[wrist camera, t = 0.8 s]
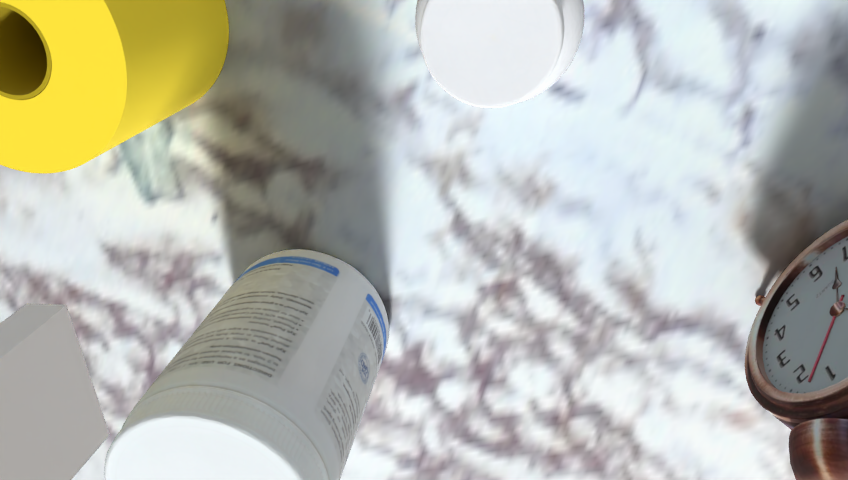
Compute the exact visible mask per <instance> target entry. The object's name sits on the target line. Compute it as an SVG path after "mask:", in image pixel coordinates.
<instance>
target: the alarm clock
mask: <svg viewBox="0 0 848 480" xmlns="http://www.w3.org/2000/svg"><path fill="white" fill-rule="evenodd" d="M755 302H756V304H757V305H760V306H761V307H760V309H759V311H758V313H757V315H756V318H755V320H754V323H753V325H752V328H751V331H750V334H749V337H748V342H747V347H746V354H745V373H746V379H747V383H748V386H749V388H750V391H751V393H752V394H753V396H754V398H755V399H756V400H757V401H758V402H759V403H760V405H761V406H762V407H763V408H765V409H766V410H767V411H768V412H770V413H771V414H772V415H774V416H775V417H776V418H777V419H779V420H780V421H781V422H782V423H784V424H785V425H786V426H787V427H789V428H790V429H791V433H790V436H789V453H790V464H791V466H792V469H793V472H794V475H795V478H796V480H848V219H847V220H845V221H844V222H842V223H840V224H838V225H837V226H835V227H833V228H832V229H830V230H829V231H828V232H826V233H825V234H823V235H822V236H821V237H819V238H818V239H816V240H815V241H814V242H813V243H812V244H811V245H810V246H808V247H807V248H806V249H805V250H803V251H802V252H801V253H800V254H799V255H798V256H797V257H796V258H795V259H794V260H793V261H792V262H791V263H790V264H789V265H788V267H787V268H786V269H785V270H784V272H783V273H782V274H781V275H780V277H779V278H778V279H777V280H776V282H775V283H774V285H773V286H772V288H771V290H770V291H769V293H768V294H767V296H766V297H764V296H762V295H759V296H757V297H756V299H755Z"/></svg>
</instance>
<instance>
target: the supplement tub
mask: <svg viewBox="0 0 848 480" xmlns="http://www.w3.org/2000/svg"><path fill="white" fill-rule="evenodd" d="M388 339H389V323H388V317H387V313H386V310H385V307H384V304H383V302H382V300H381V298H380V296H379V294H378V293H377V291H376V290H375V288H374V287H373V286H372V284H371V283H370V282H369V281H368V280H367V279H366V278H365V277H364V276H363V275H362V274H361V273H360V272H359V271H358V270H356V269H355V268H354V267H352V266H351V265H349V264H347V263H346V262H344V261H342V260H340V259H337V258H335V257H333V256H330V255H327V254H324V253H320V252H317V251H311V250H304V249H291V250H283V251H279V252H275V253H272V254H269V255H267V256H264V257H262V258H261V259H259V260H257V261H255V262H254V263H253V264H251V265H250V266H249V267H248V268H247V269H246V270H245V271H244V272H243V273H242V274H241V276H240V277H239V278H238V279H237V280H236V281H235V282H234V284H233V285H232V286H231V287H230V289H229V290H228V291H227V292H226V294H225V295H224V296H223V297H222V299H221V300H220V301H219V302H218V304H217V305H216V306H215V307H214V309H213V310H212V311H211V312H210V313H209V315H208V316H207V317H206V318H205V320H204V321H203V322H202V323H201V325H200V326H199V327H198V328H197V330H196V331H195V332H194V333H193V335H192V336H191V337H190V338H189V339H188V341H187V342H186V343H185V344H184V346H183V347H182V348H181V349H180V351H179V352H178V353H177V354H176V356H175V357H174V358H173V359H172V360H171V362H170V363H169V364H168V365H167V367H166V368H165V369H164V370H163V372H162V373H161V374H160V375H159V377H158V378H157V379H156V380H155V381H154V383H153V384H152V385H151V386H150V388H149V389H148V390H147V392H146V393H145V394H144V396H143V397H142V398H141V399H140V401H139V402H138V403H137V404H136V406H135V407H134V408H133V410H132V411H131V413H130V415H129V416H128V417H127V419H126V421H125V423H124V425H123V426H122V429H121V430H120V432H119V433H118V434H117V436H116V437H115V439H114V440H113V442H112V444H111V446H110V448H109V450H108V452H107V456H106V460H105V467H104V475H105V480H340V478H341V475H342V472H343V469H344V467H345V464H346V461H347V458H348V455H349V453H350V450H351V447H352V444H353V441H354V439H355V436H356V433H357V430H358V427H359V424H360V422H361V419H362V416H363V413H364V410H365V408H366V405H367V402H368V399H369V396H370V394H371V391H372V388H373V385H374V382H375V380H376V377H377V374H378V371H379V368H380V365H381V363H382V360H383V356H384V354H385V351H386V348H387V344H388Z"/></svg>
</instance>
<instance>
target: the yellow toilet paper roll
mask: <svg viewBox="0 0 848 480" xmlns="http://www.w3.org/2000/svg"><path fill="white" fill-rule="evenodd" d="M228 42H229V23H228V14H227V9H226V4H225V1H224V0H0V165H3V166H5V167H8V168H12V169H15V170H19V171H24V172H31V173H56V172H62V171H66V170H70V169H73V168H76V167H78V166H80V165H82V164H84V163H86V162H88V161H90V160H91V159H93V158H95V157H97V156H99V155H100V154H102V153H104V152H106V151H108V150H109V149H111V148H113V147H115V146H117V145H118V144H120V143H122V142H124V141H126V140H127V139H129V138H131V137H133V136H135V135H137V134H138V133H140V132H142V131H144V130H146V129H147V128H149V127H151V126H153V125H155V124H156V123H158V122H160V121H162V120H164V119H165V118H167V117H169V116H171V115H173V114H174V113H176V112H178V111H180V110H182V109H183V108H185V107H187V106H189V105H191V104H192V103H194V102H196V101H197V100H198V99H200V98H201V97H202V96H203V95H204V94H205V93H206V92H207V91H208V90H209V89H210V88H211V87H212V85H213V84H214V83H215V81H216V79H217V78H218V76H219V74H220V72H221V70H222V67H223V65H224V62H225V58H226V54H227V49H228Z"/></svg>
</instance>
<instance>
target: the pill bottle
mask: <svg viewBox="0 0 848 480" xmlns="http://www.w3.org/2000/svg"><path fill="white" fill-rule="evenodd" d="M583 27H584V3H583V0H418V2H417V7H416V33H417V38H418V43H419V46H420V49H421V52H422V54H423V57H424V60H425V63H426V66H427V67H428V69H429V71H430V73H431V75H432V76H433V78H434V79H435V81H436V82H437V83H438V84H439V85H440V86H441V87H442V89H444V90H445V91H446V92H447V93H448V94H450V95H451V96H452V97H454V98H456V99H458V100H460V101H462V102H464V103H466V104H469V105H472V106H476V107H483V108H498V107H505V106H508V105H512V104H515V103H520V102H523V101H526V100H529V99H531V98H533V97H535V96H537V95H539V94H541V93H542V92H544V91H545V90H547V89H548V88H549V87H551V86H552V85H553V84H554V83H555V82H556V81H557V80H558V79H559V78H560V77H561V76H562V75H563V74H564V73H565V71H566V70H567V68H568V67H569V66H570V64H571V62H572V61H573V59H574V57H575V55H576V52H577V50H578V47H579V45H580V41H581V38H582V33H583Z"/></svg>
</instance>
